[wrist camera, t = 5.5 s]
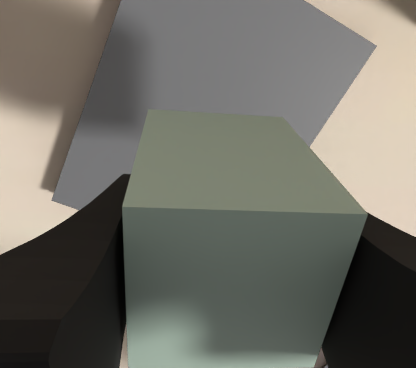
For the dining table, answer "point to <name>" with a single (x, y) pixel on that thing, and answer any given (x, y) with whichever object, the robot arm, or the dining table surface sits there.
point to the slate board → (207, 76)
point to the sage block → (232, 243)
